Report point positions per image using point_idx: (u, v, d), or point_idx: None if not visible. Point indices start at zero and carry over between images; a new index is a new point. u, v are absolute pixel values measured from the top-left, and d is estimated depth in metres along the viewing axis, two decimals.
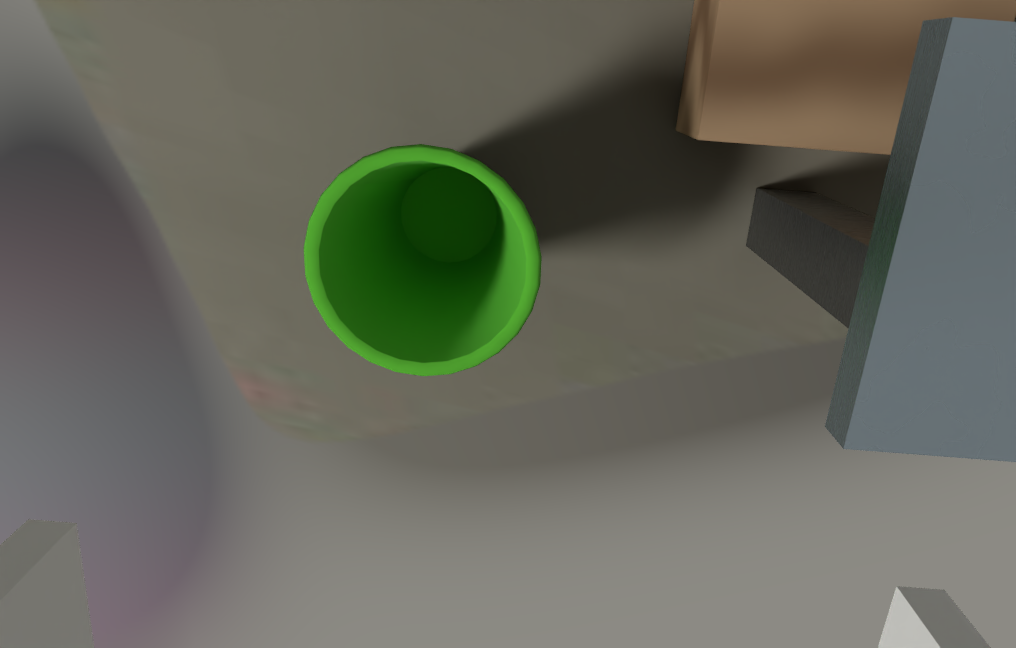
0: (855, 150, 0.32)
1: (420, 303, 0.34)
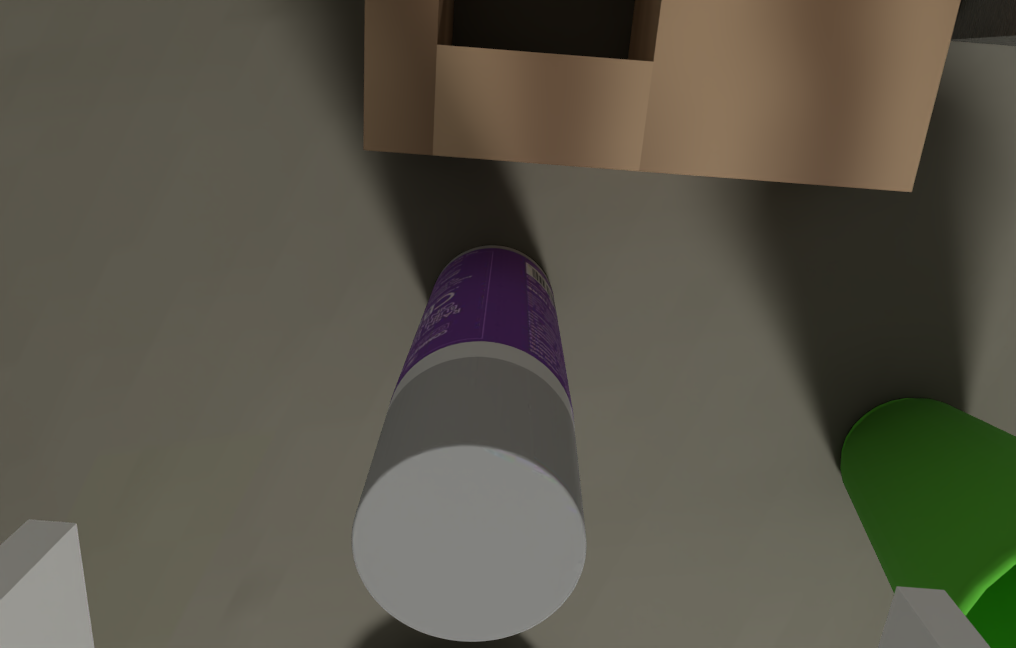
0: None
1: None
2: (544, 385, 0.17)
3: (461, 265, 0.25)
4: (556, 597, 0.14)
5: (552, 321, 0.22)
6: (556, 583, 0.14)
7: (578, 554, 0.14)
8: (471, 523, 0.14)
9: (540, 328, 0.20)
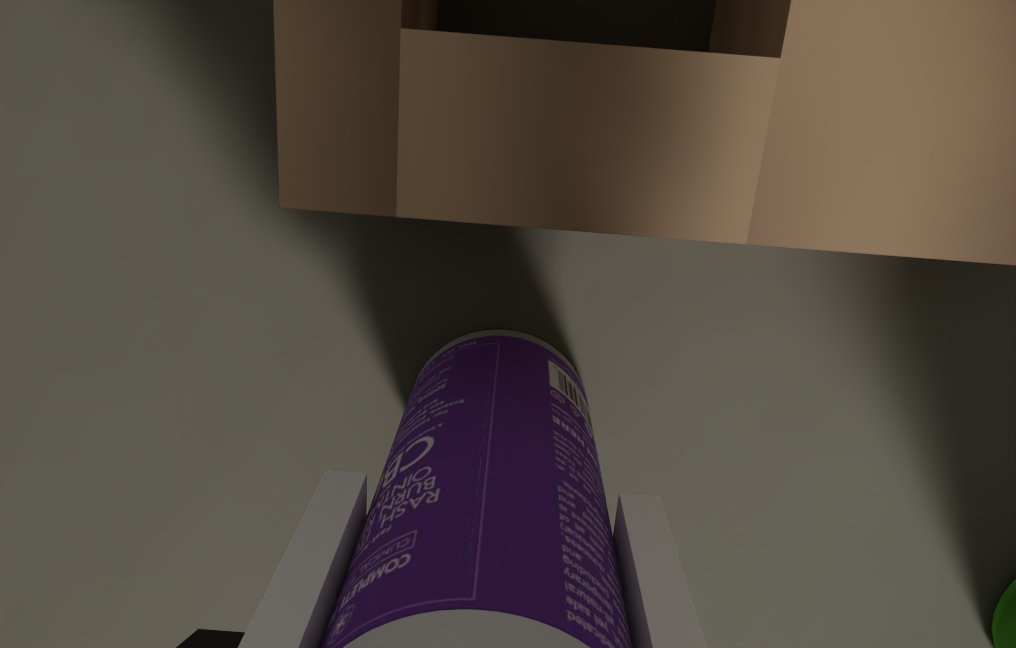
0: None
1: None
2: None
3: (450, 369, 0.17)
4: None
5: (595, 484, 0.14)
6: None
7: None
8: None
9: (580, 527, 0.11)
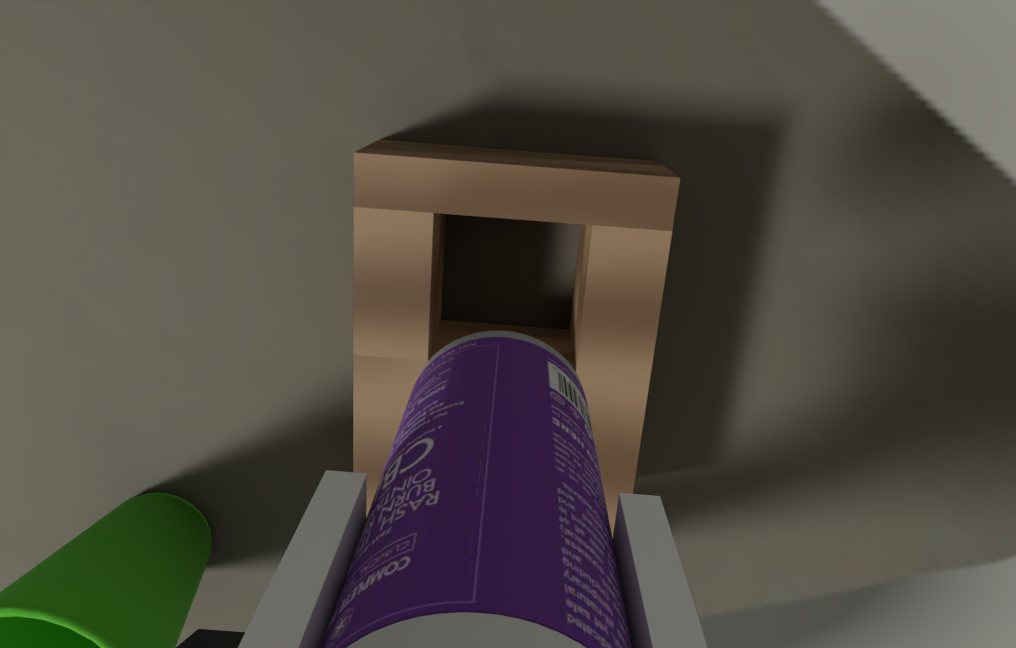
0: None
1: None
2: None
3: (450, 370, 0.17)
4: None
5: (594, 486, 0.14)
6: None
7: None
8: None
9: (580, 529, 0.11)
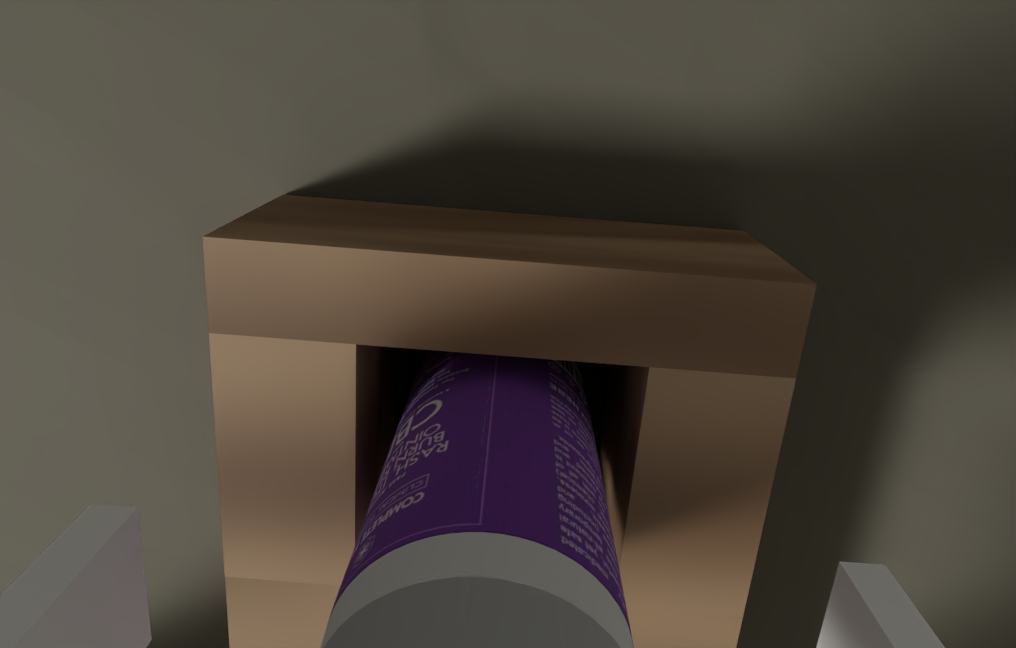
0: None
1: None
2: (590, 631, 0.09)
3: None
4: None
5: (588, 442, 0.15)
6: None
7: None
8: None
9: (573, 474, 0.13)
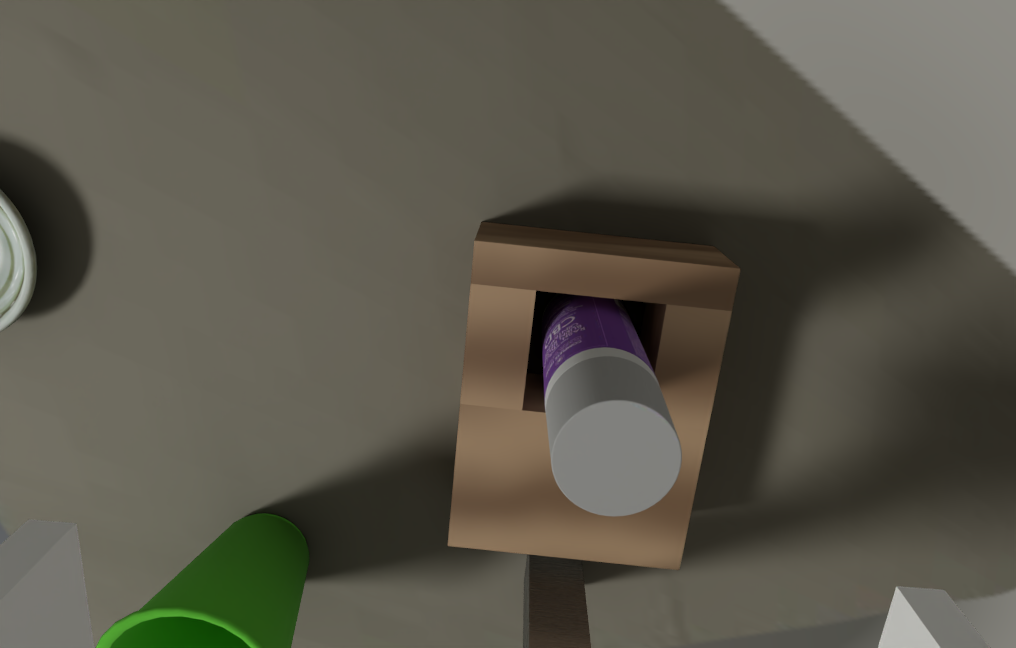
0: (579, 558, 0.38)
1: None
2: (649, 374, 0.28)
3: (570, 297, 0.36)
4: (662, 490, 0.25)
5: (638, 337, 0.33)
6: (663, 482, 0.25)
7: (677, 465, 0.25)
8: (618, 446, 0.25)
9: (636, 341, 0.31)
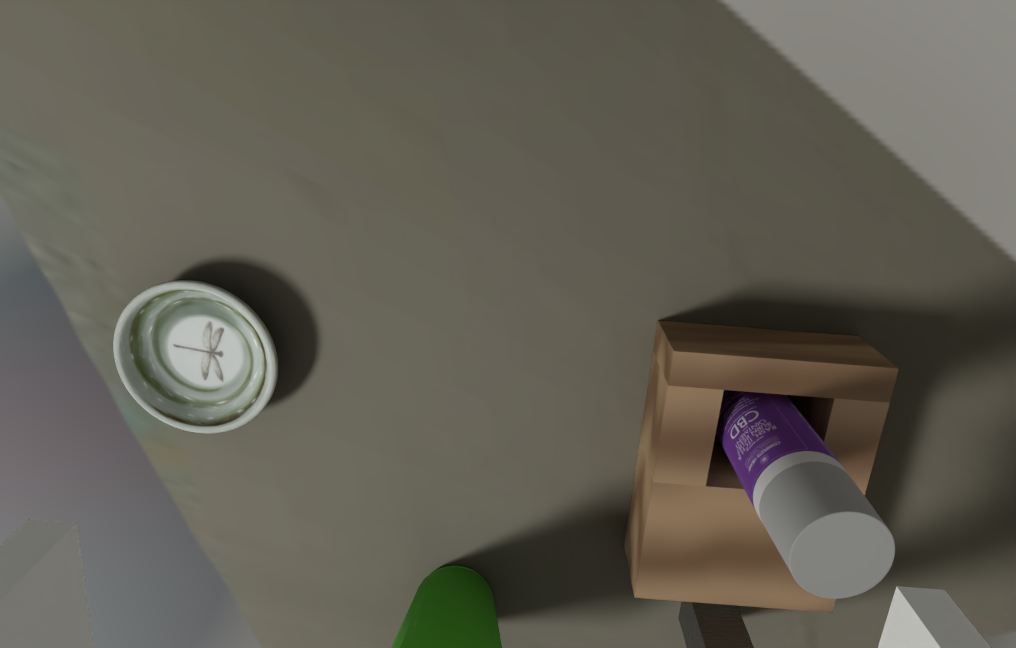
0: (747, 605, 0.44)
1: None
2: (848, 475, 0.34)
3: None
4: (877, 578, 0.31)
5: None
6: (879, 572, 0.31)
7: (890, 559, 0.31)
8: (845, 545, 0.31)
9: (818, 436, 0.37)
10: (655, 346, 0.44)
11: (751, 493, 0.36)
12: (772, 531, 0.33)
